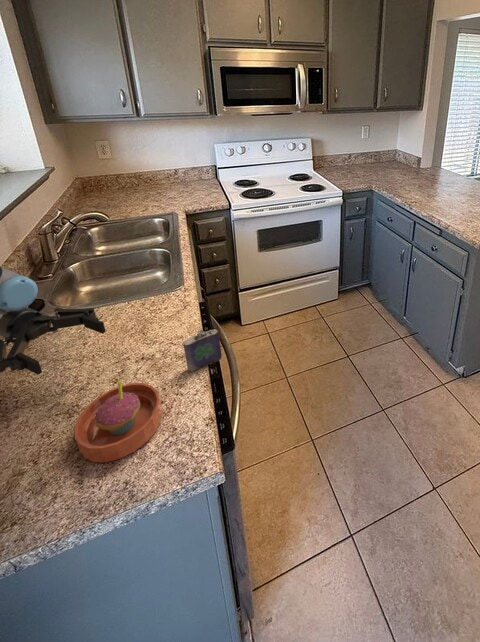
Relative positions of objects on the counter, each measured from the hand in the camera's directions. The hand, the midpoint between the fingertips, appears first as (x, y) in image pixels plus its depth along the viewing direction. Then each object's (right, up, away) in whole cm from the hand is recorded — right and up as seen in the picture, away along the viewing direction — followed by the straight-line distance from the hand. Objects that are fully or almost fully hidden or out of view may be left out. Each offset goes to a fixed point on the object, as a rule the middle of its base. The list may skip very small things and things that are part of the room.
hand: (73, 346), depth 77 cm
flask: (+21, -13, +21) cm, 32 cm away
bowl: (+9, -19, +3) cm, 21 cm away
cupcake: (+9, -19, +2) cm, 21 cm away
